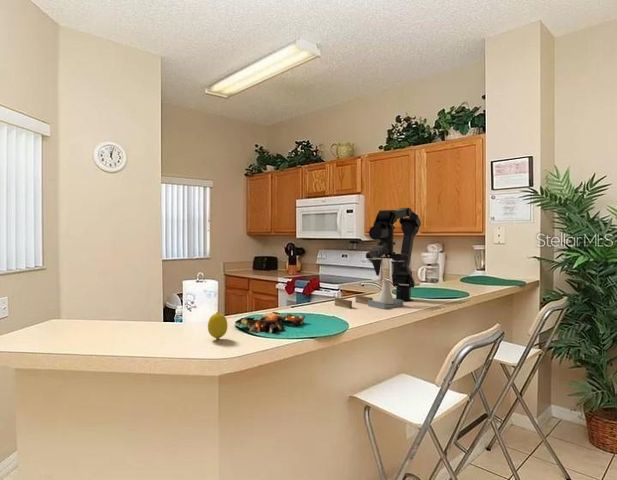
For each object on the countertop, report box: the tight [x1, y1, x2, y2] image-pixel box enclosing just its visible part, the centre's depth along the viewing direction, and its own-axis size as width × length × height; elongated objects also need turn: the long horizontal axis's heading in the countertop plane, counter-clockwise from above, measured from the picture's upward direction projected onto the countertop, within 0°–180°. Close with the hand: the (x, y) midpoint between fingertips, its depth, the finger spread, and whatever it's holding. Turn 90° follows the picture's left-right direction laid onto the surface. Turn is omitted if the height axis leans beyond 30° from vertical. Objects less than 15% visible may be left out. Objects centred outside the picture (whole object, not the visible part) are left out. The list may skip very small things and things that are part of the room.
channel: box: [334, 294, 374, 310], centre depth 171 cm, size 14×9×3 cm, turn 128°
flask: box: [377, 279, 394, 305], centre depth 169 cm, size 7×7×10 cm
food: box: [234, 311, 307, 335], centre depth 135 cm, size 22×19×4 cm
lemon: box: [207, 311, 228, 341], centre depth 116 cm, size 6×6×8 cm
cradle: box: [367, 297, 404, 310], centre depth 170 cm, size 12×9×2 cm
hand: (385, 276), depth 169 cm, fingers open, 9 cm apart
